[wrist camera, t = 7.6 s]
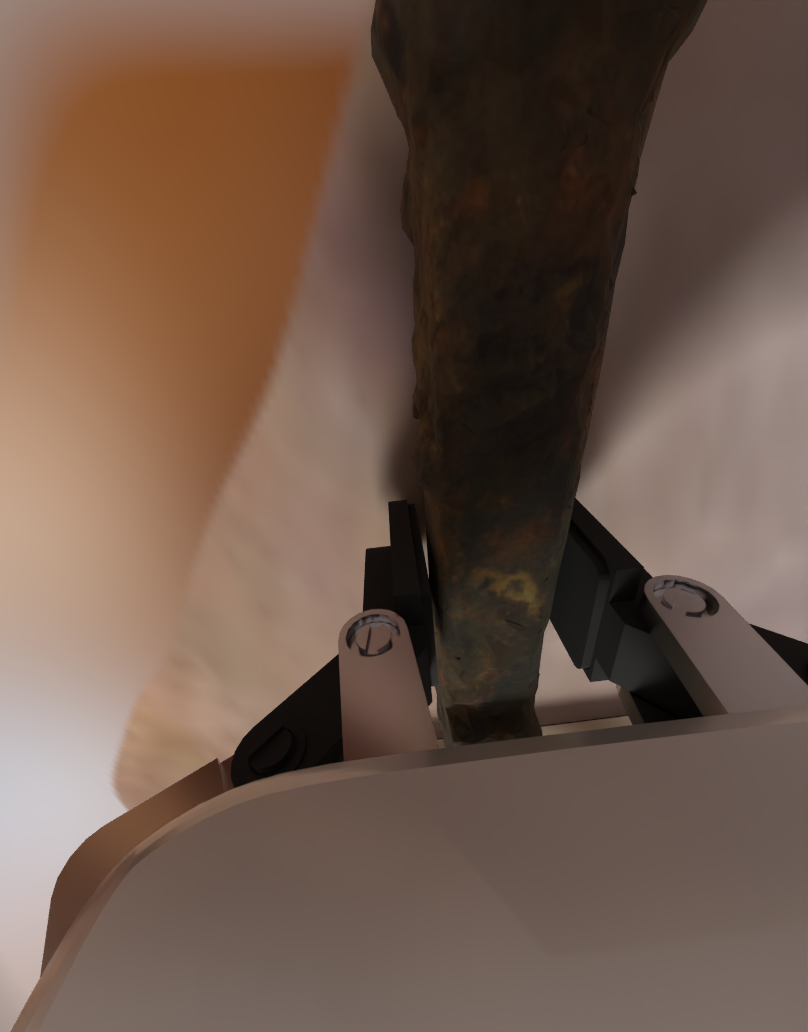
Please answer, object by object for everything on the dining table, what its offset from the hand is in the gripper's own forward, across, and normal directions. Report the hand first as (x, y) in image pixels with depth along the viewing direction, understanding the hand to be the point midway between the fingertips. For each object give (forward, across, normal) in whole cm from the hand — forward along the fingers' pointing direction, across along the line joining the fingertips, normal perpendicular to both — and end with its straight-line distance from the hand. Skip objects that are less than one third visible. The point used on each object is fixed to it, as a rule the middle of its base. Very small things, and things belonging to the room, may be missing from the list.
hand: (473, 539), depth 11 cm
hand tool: (+1, 0, 0) cm, 1 cm away
